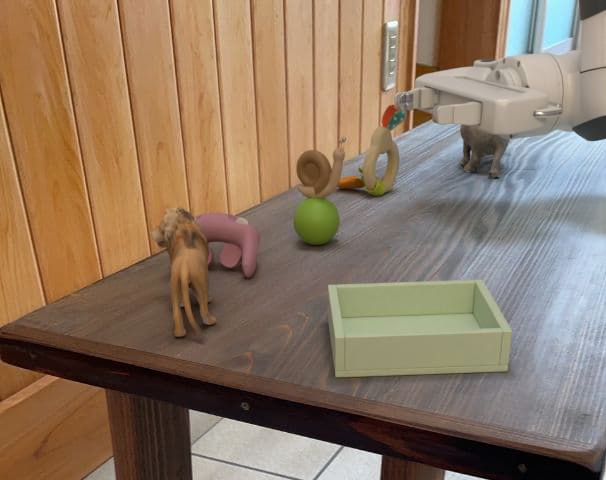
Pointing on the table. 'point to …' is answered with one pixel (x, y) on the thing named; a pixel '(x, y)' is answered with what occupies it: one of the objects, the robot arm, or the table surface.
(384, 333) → the tray
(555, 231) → the table surface
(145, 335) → the table surface
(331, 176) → the snail figurine
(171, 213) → the lion figurine
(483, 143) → the rhinoceros figurine
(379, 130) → the rattle
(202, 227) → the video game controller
